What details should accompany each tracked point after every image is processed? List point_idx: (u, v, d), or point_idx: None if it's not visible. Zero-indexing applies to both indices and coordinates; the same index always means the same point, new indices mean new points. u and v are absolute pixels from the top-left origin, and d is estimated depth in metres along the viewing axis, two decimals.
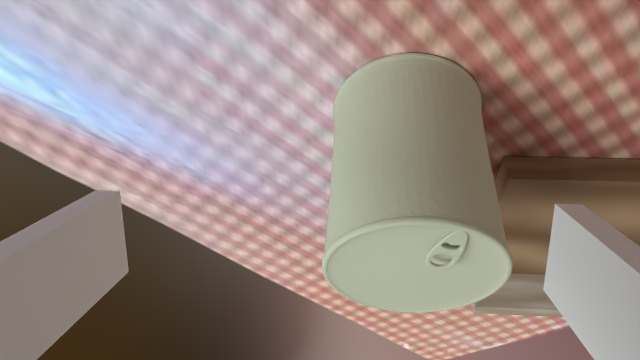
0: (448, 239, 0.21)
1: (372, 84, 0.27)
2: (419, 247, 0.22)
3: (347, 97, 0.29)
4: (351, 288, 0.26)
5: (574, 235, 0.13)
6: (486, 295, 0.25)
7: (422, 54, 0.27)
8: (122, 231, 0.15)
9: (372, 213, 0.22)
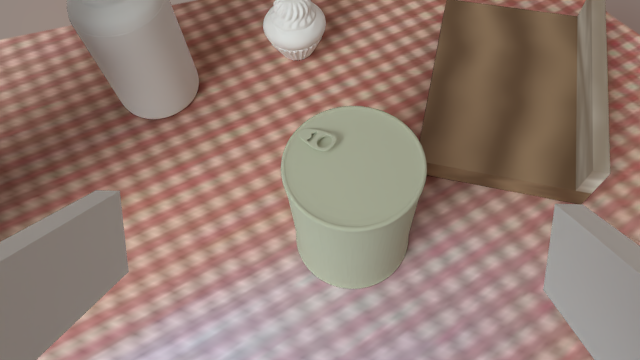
0: (304, 138, 0.32)
1: None
2: (316, 157, 0.31)
3: (309, 262, 0.38)
4: (374, 214, 0.29)
5: (574, 235, 0.13)
6: (395, 119, 0.32)
7: None
8: (122, 231, 0.15)
9: None
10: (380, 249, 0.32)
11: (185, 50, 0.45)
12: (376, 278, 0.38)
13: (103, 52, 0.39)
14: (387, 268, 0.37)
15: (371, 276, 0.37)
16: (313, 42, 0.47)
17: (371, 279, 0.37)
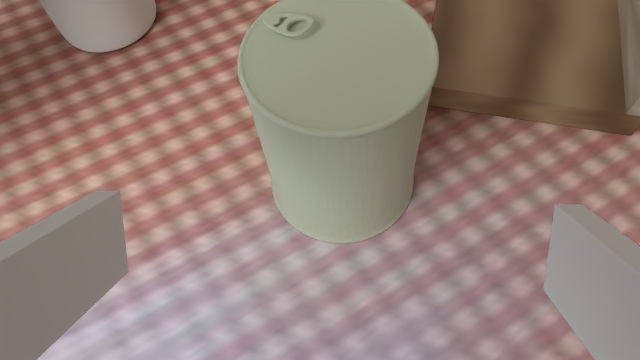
0: (269, 23, 0.23)
1: None
2: (285, 46, 0.23)
3: (286, 209, 0.29)
4: (366, 113, 0.20)
5: (574, 235, 0.13)
6: None
7: None
8: (122, 231, 0.15)
9: None
10: (377, 176, 0.24)
11: None
12: (373, 228, 0.29)
13: None
14: (387, 213, 0.28)
15: (367, 223, 0.28)
16: None
17: (367, 228, 0.29)
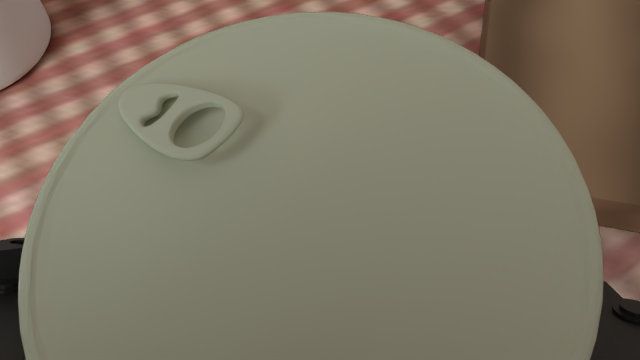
0: (132, 114, 0.09)
1: None
2: (166, 182, 0.08)
3: None
4: None
5: None
6: (453, 49, 0.09)
7: None
8: None
9: None
10: None
11: None
12: None
13: None
14: None
15: None
16: None
17: None
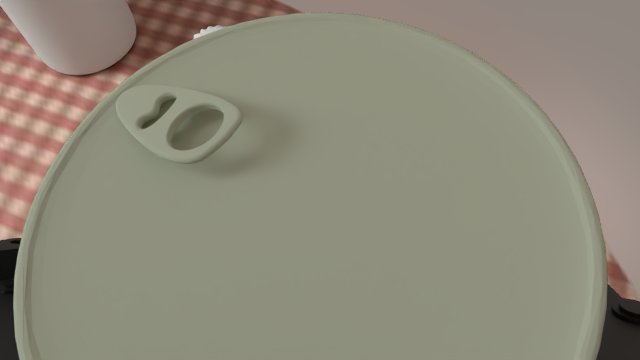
0: (129, 116, 0.09)
1: None
2: (164, 186, 0.08)
3: None
4: None
5: None
6: (455, 50, 0.09)
7: None
8: None
9: None
10: None
11: (86, 15, 0.34)
12: None
13: None
14: None
15: None
16: None
17: None
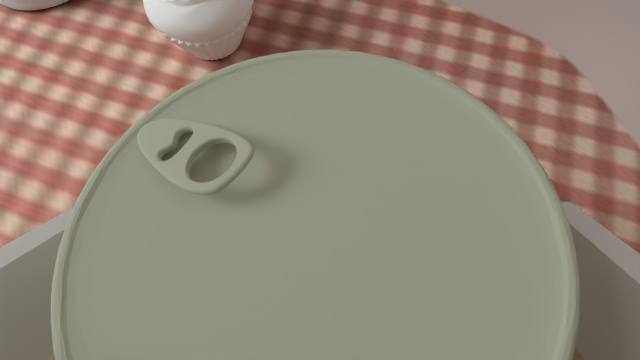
0: (150, 149, 0.10)
1: None
2: (183, 213, 0.09)
3: None
4: None
5: None
6: (446, 86, 0.10)
7: None
8: None
9: None
10: None
11: None
12: None
13: None
14: None
15: None
16: (182, 37, 0.26)
17: None
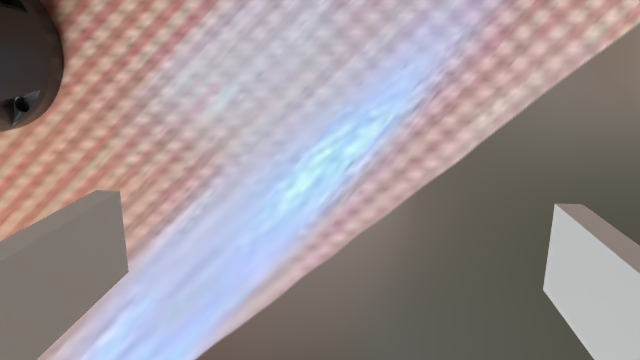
0: None
1: None
2: None
3: None
4: None
5: (574, 235, 0.13)
6: None
7: None
8: (122, 231, 0.15)
9: None
10: None
11: None
12: None
13: None
14: None
15: None
16: None
17: None
